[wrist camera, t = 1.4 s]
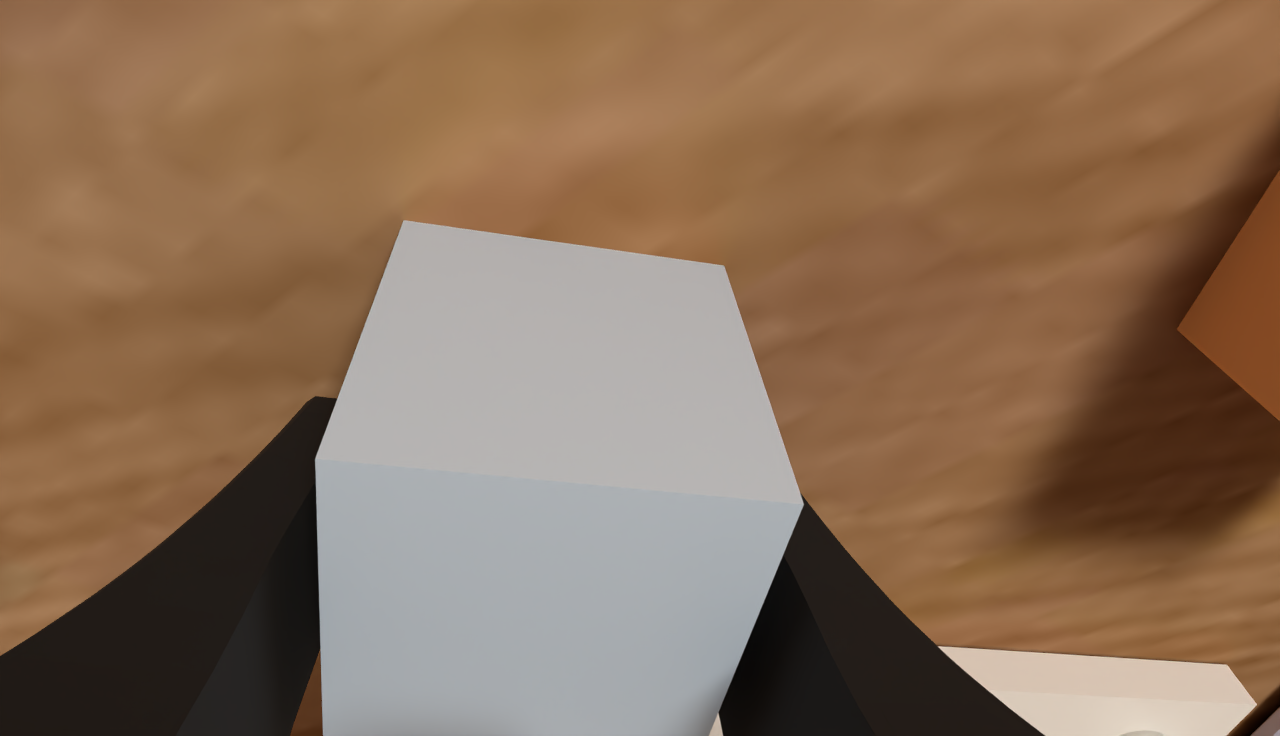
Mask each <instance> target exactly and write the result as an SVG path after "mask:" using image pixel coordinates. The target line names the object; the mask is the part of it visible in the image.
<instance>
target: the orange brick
mask: <svg viewBox="0 0 1280 736" xmlns="http://www.w3.org/2000/svg"><path fill="white" fill-rule="evenodd" d="M1176 330H1177V331H1179V332H1180V333H1181V334H1182V335H1183V336H1184V337H1185V338H1186V339H1188V340H1189V341H1190V342H1191V343H1192V344H1193V345H1194V346H1195V347H1197V348H1198V349H1199V350H1200V351H1201V352H1202V353H1203V354H1204V355H1206V356H1207V357H1208V358H1209V359H1210V360H1211V361H1212V362H1213V363H1215V364H1216V365H1217V366H1218V367H1219V368H1220V369H1221V370H1222V371H1224V372H1225V373H1226V374H1227V375H1228V376H1229V377H1230V378H1231V379H1233V380H1234V381H1235V382H1236V383H1237V384H1238V385H1239V386H1240V387H1242V388H1243V389H1244V390H1245V391H1246V392H1247V393H1248V394H1249V395H1251V396H1252V397H1253V398H1254V399H1255V400H1256V401H1257V402H1258V403H1260V404H1261V405H1262V406H1263V407H1264V408H1265V409H1266V410H1267V411H1269V412H1270V413H1271V414H1272V415H1273V416H1274V417H1275V418H1276V419H1278V420H1279V421H1280V170H1279V172H1278V173H1277V175H1276V176H1275V178H1274V179H1273V181H1272V182H1271V184H1270V186H1269V187H1268V189H1267V190H1266V192H1265V193H1264V195H1263V196H1262V198H1261V199H1260V201H1259V203H1258V204H1257V206H1256V207H1255V209H1254V210H1253V212H1252V213H1251V215H1250V216H1249V218H1248V220H1247V221H1246V223H1245V224H1244V226H1243V227H1242V229H1241V230H1240V232H1239V233H1238V235H1237V237H1236V238H1235V240H1234V241H1233V243H1232V244H1231V246H1230V247H1229V249H1228V250H1227V252H1226V254H1225V255H1224V257H1223V258H1222V260H1221V261H1220V263H1219V264H1218V266H1217V268H1216V269H1215V271H1214V272H1213V274H1212V275H1211V277H1210V278H1209V280H1208V281H1207V283H1206V285H1205V286H1204V288H1203V289H1202V291H1201V292H1200V294H1199V295H1198V297H1197V298H1196V300H1195V302H1194V303H1193V305H1192V306H1191V308H1190V309H1189V311H1188V312H1187V314H1186V315H1185V317H1184V319H1183V320H1182V322H1181V323H1180V325H1179V326H1178V328H1177V329H1176Z"/></svg>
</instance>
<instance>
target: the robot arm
mask: <svg viewBox="0 0 1280 736" xmlns="http://www.w3.org/2000/svg"><path fill="white" fill-rule="evenodd" d="M336 401H337V399H336V398H326V397H317V396H315V397H314V398H312V399H311V400H309V401H308V402H306V403H305V405H304V406H303V407H302V408H301V409H300V410H299V411H298V413H297V414H296V415H295V416H294V417H293V418H292V419H291V420H290V421H289V423H288V424H287V425H286V426H285V427H284V428H283V429H282V430H281V431H280V432H279V433H278V435H277V436H276V437H275V438H274V439H273V440H272V441H271V442H270V443H269V444H268V445H267V446H266V447H265V448H264V449H263V450H262V451H261V452H260V453H259V454H258V455H257V456H256V457H255V458H254V459H253V460H252V461H251V462H250V463H249V464H248V465H247V466H246V467H245V468H244V469H243V470H242V471H241V472H240V473H239V474H238V475H237V476H236V477H235V478H234V479H233V480H232V481H231V482H230V483H229V484H228V485H227V486H226V487H224V488H223V489H222V490H221V491H220V492H219V493H218V494H217V495H216V496H215V497H214V498H213V499H212V500H211V501H210V502H208V503H207V504H206V505H205V506H204V507H203V508H202V509H200V510H199V511H198V512H197V513H196V514H195V515H193V516H192V517H191V518H190V519H189V520H188V521H186V522H185V523H184V524H183V525H182V526H181V527H180V528H178V529H177V530H176V531H175V532H174V533H173V534H171V535H170V536H169V537H168V538H167V539H166V540H164V541H163V542H162V543H161V544H160V545H158V546H157V547H156V548H155V549H153V550H152V551H151V552H150V553H148V554H147V555H146V556H145V557H143V558H142V559H141V560H140V561H138V562H137V563H136V564H134V565H133V566H132V567H130V568H129V569H128V570H127V571H125V572H124V573H123V574H121V575H120V576H118V577H117V578H116V579H114V580H113V581H112V582H110V583H109V584H108V585H106V586H105V587H103V588H102V589H101V590H99V591H98V592H97V593H95V594H94V595H92V596H91V597H90V598H88V599H87V600H85V601H84V602H82V603H81V604H79V605H78V606H76V607H75V608H73V609H72V610H70V611H69V612H67V613H66V614H64V615H63V616H62V617H60V618H59V619H57V620H56V621H54V622H53V623H51V624H50V625H48V626H47V627H45V628H44V629H42V630H41V631H39V632H38V633H36V634H35V635H33V636H32V637H30V638H28V639H27V640H25V641H24V642H22V643H20V644H19V645H17V646H16V647H14V648H13V649H11V650H9V651H8V652H6V653H4V654H3V655H1V656H0V736H290V733H291V730H292V727H293V724H294V721H295V718H296V715H297V712H298V709H299V706H300V704H301V701H302V698H303V695H304V692H305V689H306V687H307V684H308V681H309V678H310V675H311V673H312V670H313V667H314V664H315V661H316V658H317V656H318V653H319V650H320V647H321V646H320V611H319V575H318V540H317V504H316V469H315V458H316V455H317V453H318V450H319V447H320V445H321V442H322V439H323V436H324V434H325V431H326V428H327V426H328V423H329V420H330V418H331V415H332V412H333V409H334V407H335V404H336ZM800 494H801V493H800ZM801 497H802V500H803V503H804V505H803V508H802V510H801V513H800V515H799V517H798V520H797V522H796V525H795V527H794V530H793V532H792V535H791V537H790V539H789V542H788V544H787V547H786V549H785V552H784V554H783V556H782V559H781V561H780V564H779V566H778V569H777V571H776V573H775V576H774V578H773V581H772V583H771V586H770V588H769V590H768V593H767V595H766V598H765V600H764V603H763V605H762V607H761V610H760V612H759V615H758V617H757V620H756V622H755V624H754V627H753V629H752V632H751V634H750V637H749V639H748V642H747V644H746V646H745V649H744V651H743V654H742V656H741V659H740V661H739V663H738V666H737V668H736V671H735V673H734V676H733V678H732V680H731V683H730V685H729V688H728V690H727V693H726V695H725V697H724V700H723V702H722V705H721V707H720V710H719V712H718V713H719V718H720V723H721V728H722V733H723V736H1045V735H1044V734H1042V733H1041V732H1040V731H1038V730H1037V729H1036V728H1035V727H1033V726H1032V725H1031V724H1029V723H1028V722H1027V721H1025V720H1024V719H1023V718H1021V717H1020V716H1019V715H1018V714H1016V713H1015V712H1014V711H1012V710H1011V709H1010V708H1009V707H1007V706H1006V705H1005V704H1004V703H1003V702H1001V701H1000V700H999V699H998V698H997V697H995V696H994V695H993V694H992V693H991V692H989V691H988V690H987V689H986V688H984V687H983V686H982V685H981V684H980V683H978V682H977V681H976V680H975V679H974V678H972V677H971V676H970V675H969V674H968V673H967V672H965V671H964V670H963V669H962V668H961V667H960V666H959V665H957V664H956V663H955V662H954V661H953V660H952V659H951V658H950V657H948V656H947V655H946V654H945V653H944V652H943V651H942V650H941V649H940V648H939V647H938V646H937V645H936V644H935V643H934V642H933V641H931V640H930V639H929V638H928V637H927V636H926V635H925V634H924V633H923V632H922V631H921V630H920V629H919V628H918V627H917V626H916V625H915V624H914V623H913V622H912V621H910V620H909V619H908V618H907V617H906V615H905V614H904V613H903V612H902V611H901V610H900V609H899V608H898V607H897V606H896V605H895V604H894V603H893V602H892V601H891V600H890V599H889V598H888V597H887V596H886V595H885V593H884V592H883V591H882V590H881V589H880V588H879V587H878V586H877V585H876V584H875V583H874V581H873V580H872V579H871V578H870V577H869V576H868V575H867V574H866V573H865V572H864V570H863V569H862V568H861V567H860V566H859V565H858V564H857V562H856V561H855V560H854V559H853V558H852V557H851V555H850V554H849V553H848V552H847V551H846V550H845V548H844V547H843V546H842V545H841V544H840V542H839V541H838V540H837V539H836V538H835V536H834V535H833V534H832V533H831V531H830V530H829V529H828V528H827V526H826V525H825V524H824V523H823V521H822V520H821V519H820V518H819V516H818V515H817V514H816V513H815V511H814V510H813V509H812V507H811V506H810V505H809V504H808V502H807V501H806V500H805V498H804V497H803V496H802V494H801ZM1250 736H1280V707H1279V708H1278V709H1277V710H1276V711H1275V712H1274V713H1273V714H1272V715H1271V716H1270V717H1269V718H1268V719H1267V720H1266V721H1265V722H1264V723H1263V724H1262V725H1261V726H1260V727H1259V728H1258V729H1257V730H1256V731H1255V732H1254V733H1253V734H1251V735H1250Z"/></svg>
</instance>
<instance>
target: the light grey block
mask: <svg viewBox="0 0 1280 736" xmlns="http://www.w3.org/2000/svg"><path fill="white" fill-rule="evenodd" d="M315 469H316V504H317V540H318V575H319V611H320V646H321V681H322V717H323V736H709V734H710V731H711V729H712V727H713V724H714V722H715V719H716V717H717V714H718V712H719V710H720V707H721V705H722V702H723V700H724V697H725V695H726V693H727V690H728V688H729V685H730V683H731V680H732V678H733V676H734V673H735V671H736V668H737V666H738V663H739V661H740V659H741V656H742V654H743V651H744V649H745V646H746V644H747V642H748V639H749V637H750V634H751V632H752V629H753V627H754V624H755V622H756V620H757V617H758V615H759V612H760V610H761V607H762V605H763V603H764V600H765V598H766V595H767V593H768V590H769V588H770V586H771V583H772V581H773V578H774V576H775V573H776V571H777V569H778V566H779V564H780V561H781V559H782V556H783V554H784V552H785V549H786V547H787V544H788V542H789V539H790V537H791V535H792V532H793V530H794V527H795V525H796V522H797V520H798V517H799V515H800V513H801V510H802V508H803V505H804V503H803V500H802V497H801V494H800V491H799V488H798V485H797V482H796V479H795V476H794V473H793V470H792V467H791V465H790V462H789V459H788V456H787V453H786V450H785V447H784V444H783V441H782V438H781V435H780V432H779V429H778V426H777V423H776V420H775V417H774V414H773V411H772V408H771V405H770V402H769V399H768V396H767V393H766V390H765V387H764V384H763V381H762V378H761V375H760V372H759V369H758V366H757V363H756V360H755V357H754V354H753V351H752V348H751V345H750V342H749V339H748V336H747V333H746V330H745V327H744V324H743V321H742V318H741V315H740V312H739V309H738V306H737V303H736V300H735V297H734V294H733V291H732V288H731V285H730V282H729V279H728V276H727V273H726V270H725V267H724V266H723V265H716V264H708V263H701V262H694V261H687V260H680V259H673V258H666V257H659V256H652V255H645V254H638V253H631V252H624V251H617V250H610V249H603V248H596V247H588V246H581V245H574V244H567V243H560V242H553V241H546V240H539V239H532V238H525V237H518V236H511V235H504V234H497V233H490V232H483V231H476V230H469V229H461V228H454V227H447V226H440V225H433V224H426V223H419V222H412V221H405V220H404V221H403V223H402V226H401V229H400V231H399V234H398V237H397V240H396V242H395V245H394V248H393V250H392V253H391V256H390V258H389V261H388V264H387V267H386V269H385V272H384V275H383V277H382V280H381V283H380V285H379V288H378V291H377V294H376V296H375V299H374V302H373V304H372V307H371V310H370V312H369V315H368V318H367V320H366V323H365V326H364V329H363V331H362V334H361V337H360V339H359V342H358V345H357V347H356V350H355V353H354V356H353V358H352V361H351V364H350V366H349V369H348V372H347V374H346V377H345V380H344V383H343V385H342V388H341V391H340V393H339V396H338V399H337V401H336V404H335V407H334V409H333V412H332V415H331V418H330V420H329V423H328V426H327V428H326V431H325V434H324V436H323V439H322V442H321V445H320V447H319V450H318V453H317V455H316V458H315Z"/></svg>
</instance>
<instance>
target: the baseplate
mask: <svg viewBox="0 0 1280 736" xmlns="http://www.w3.org/2000/svg"><path fill="white" fill-rule="evenodd" d="M938 647H939V648H940V649H941V650H942V651H943V652H944V653H945V654H946V655H947V656H948V657H950V658H951V659H952V660H953V661H954V662H955V663H956V664H957V665H959V666H960V667H961V668H962V669H963V670H964V671H965V672H967V673H968V674H969V675H970V676H971V677H972V678H974V679H975V680H976V681H977V682H978V683H980V684H981V685H982V686H983V687H984V688H986V689H987V690H988V691H989V692H991V693H992V694H993V695H994V696H995V697H997V698H998V699H999V700H1000V701H1001V702H1003V703H1004V704H1005V705H1006V706H1007V707H1009V708H1010V709H1011V710H1012V711H1014V712H1015V713H1016V714H1018V715H1019V716H1020V717H1021V718H1023V719H1024V720H1025V721H1027V722H1028V723H1029V724H1031V725H1032V726H1033V727H1035V728H1036V729H1037V730H1038V731H1040V732H1041V733H1042V734H1044V735H1045V736H1226V735H1227V734H1228V733H1229V732H1230V731H1231V730H1232V729H1233V728H1234V727H1235V726H1236V725H1237V724H1238V723H1239V722H1240V721H1241V720H1242V719H1243V718H1244V717H1245V716H1246V715H1247V714H1248V713H1249V712H1250V711H1251V710H1252V709H1253V708H1254V707H1255V706H1256V705H1257V704H1256V703H1255V701H1254V700H1253V699H1252V697H1251V696H1250V695H1249V693H1248V692H1247V691H1246V689H1245V688H1244V687H1243V686H1242V684H1241V683H1240V682H1239V680H1238V679H1237V678H1236V676H1235V675H1234V674H1233V672H1232V671H1231V670H1230V668H1229V667H1228V666H1227V665H1224V664H1208V663H1192V662H1177V661H1161V660H1145V659H1130V658H1114V657H1099V656H1083V655H1067V654H1052V653H1036V652H1020V651H1005V650H989V649H974V648H958V647H942V646H938ZM709 736H723V733H722V728H721V723H720V718H719V713H718V714H717V717H716V719H715V722H714V724H713V727H712V729H711V731H710V734H709Z"/></svg>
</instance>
